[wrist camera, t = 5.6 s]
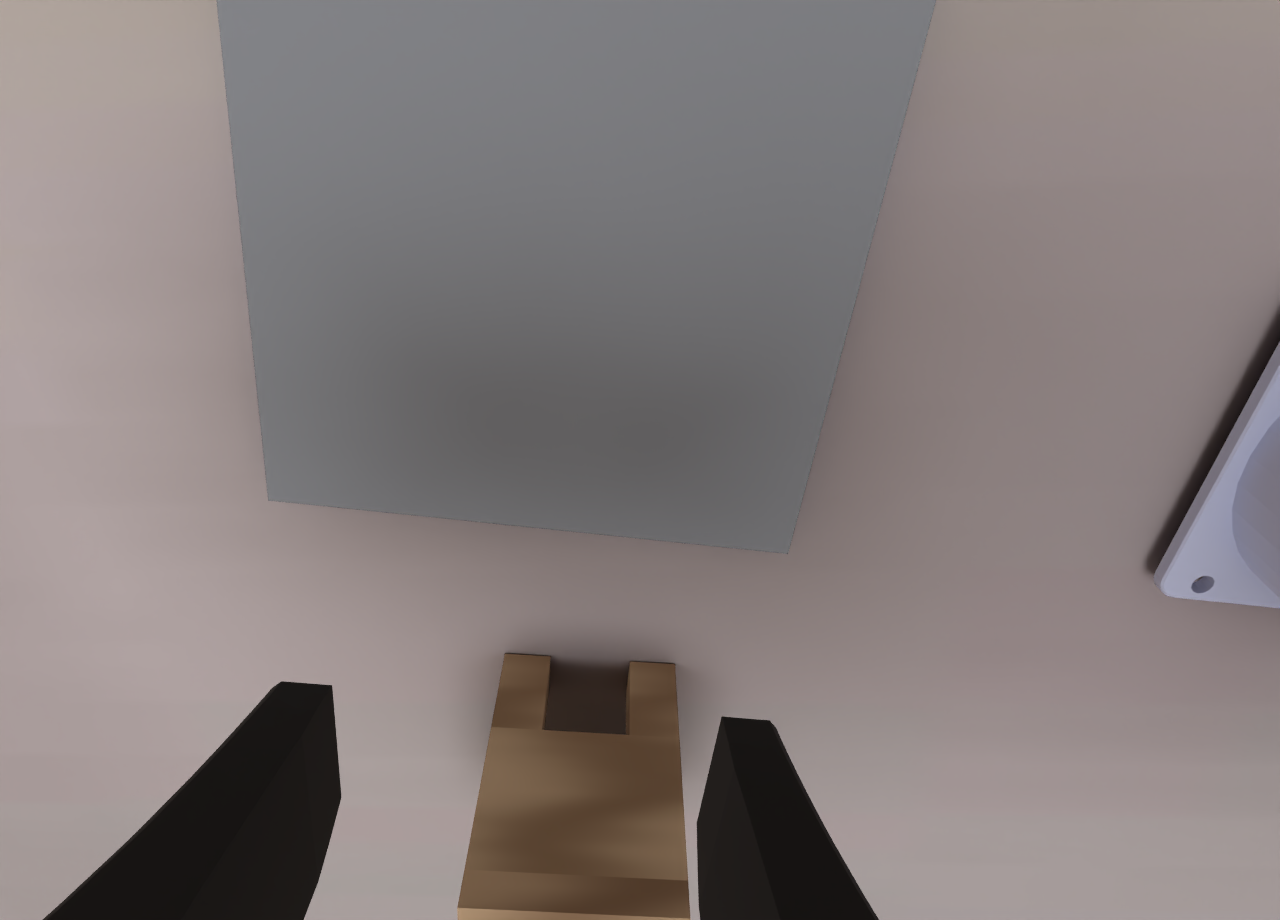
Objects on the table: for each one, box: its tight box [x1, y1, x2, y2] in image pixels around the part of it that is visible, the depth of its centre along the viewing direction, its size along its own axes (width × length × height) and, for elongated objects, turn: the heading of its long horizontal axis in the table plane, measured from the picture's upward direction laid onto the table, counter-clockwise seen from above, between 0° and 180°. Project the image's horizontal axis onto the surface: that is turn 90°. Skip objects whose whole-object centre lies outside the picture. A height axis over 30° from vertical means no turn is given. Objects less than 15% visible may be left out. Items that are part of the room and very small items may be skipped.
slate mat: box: [217, 0, 936, 554], centre depth 17 cm, size 12×12×1 cm
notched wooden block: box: [457, 654, 690, 920], centre depth 21 cm, size 4×4×7 cm
